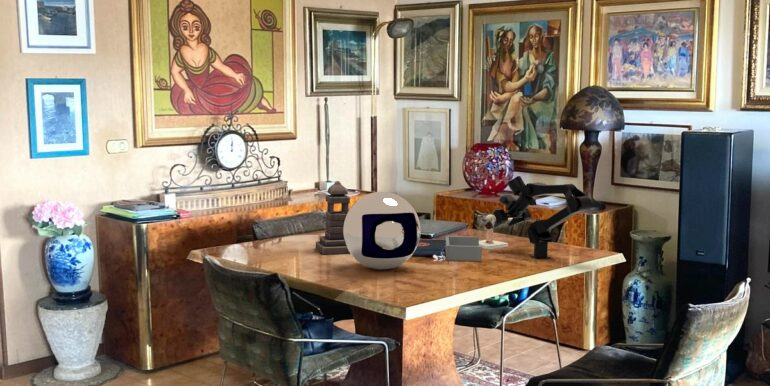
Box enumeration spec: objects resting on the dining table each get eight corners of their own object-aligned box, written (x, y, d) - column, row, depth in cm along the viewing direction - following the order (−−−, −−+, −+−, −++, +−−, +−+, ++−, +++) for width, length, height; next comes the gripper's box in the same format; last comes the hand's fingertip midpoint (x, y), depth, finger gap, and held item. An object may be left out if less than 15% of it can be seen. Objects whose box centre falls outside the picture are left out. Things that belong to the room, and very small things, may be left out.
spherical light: (353, 279, 327) (354, 197, 324) (335, 263, 355) (335, 188, 352) (430, 275, 336) (431, 195, 332) (406, 259, 364) (407, 186, 360)
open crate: (478, 250, 385) (478, 236, 385) (481, 261, 362) (481, 246, 362) (445, 249, 386) (445, 236, 385) (446, 260, 363) (446, 245, 362)
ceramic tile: (508, 246, 395) (508, 243, 395) (488, 249, 388) (488, 246, 388) (488, 242, 405) (488, 239, 404) (469, 245, 397) (469, 242, 397)
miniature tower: (322, 255, 371) (322, 183, 367) (315, 248, 385) (315, 179, 382) (360, 253, 376) (360, 182, 372) (351, 247, 390) (352, 178, 386)
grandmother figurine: (497, 243, 393) (498, 215, 392) (490, 244, 392) (491, 215, 390) (487, 241, 400) (487, 213, 398) (480, 241, 398) (481, 213, 397)
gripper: (527, 187, 388) (508, 210, 398) (496, 190, 377) (477, 213, 387) (540, 208, 383) (520, 229, 393) (509, 211, 372) (490, 233, 382)
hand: (502, 226), depth 389 cm, fingers open, 9 cm apart
